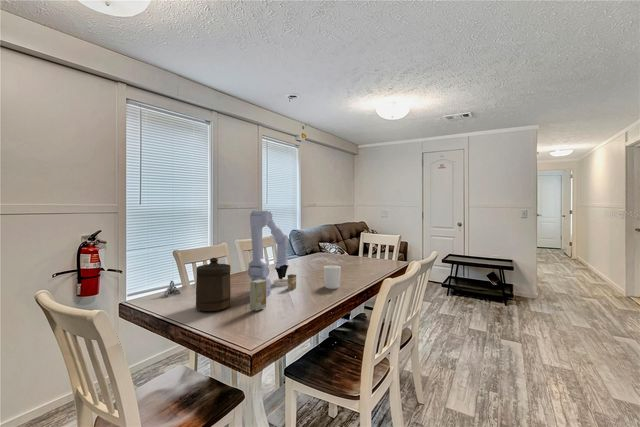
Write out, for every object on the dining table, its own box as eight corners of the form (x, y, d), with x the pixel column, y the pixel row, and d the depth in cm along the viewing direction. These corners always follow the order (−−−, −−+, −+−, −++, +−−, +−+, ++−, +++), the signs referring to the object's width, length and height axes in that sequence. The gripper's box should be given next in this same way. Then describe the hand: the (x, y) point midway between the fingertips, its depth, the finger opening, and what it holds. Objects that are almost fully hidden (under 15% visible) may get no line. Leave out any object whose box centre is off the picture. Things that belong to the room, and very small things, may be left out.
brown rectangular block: (296, 289, 164) (296, 274, 164) (293, 290, 161) (293, 276, 161) (290, 288, 166) (290, 274, 166) (287, 289, 162) (287, 275, 162)
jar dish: (291, 283, 176) (291, 279, 176) (286, 287, 168) (286, 283, 168) (277, 282, 179) (277, 278, 179) (271, 286, 170) (271, 282, 170)
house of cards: (173, 291, 160) (173, 277, 160) (183, 293, 156) (183, 279, 156) (157, 295, 152) (157, 280, 152) (167, 297, 148) (167, 282, 148)
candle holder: (320, 288, 164) (321, 267, 164) (327, 284, 173) (327, 264, 173) (337, 290, 161) (337, 268, 161) (343, 286, 170) (343, 265, 170)
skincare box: (256, 311, 127) (256, 282, 127) (249, 309, 130) (249, 281, 130) (266, 307, 133) (266, 280, 133) (259, 305, 135) (259, 278, 135)
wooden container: (236, 302, 140) (236, 256, 140) (219, 312, 126) (219, 261, 125) (208, 300, 143) (208, 255, 143) (188, 310, 129) (188, 259, 128)
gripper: (280, 253, 181) (280, 275, 181) (270, 256, 167) (270, 280, 167) (290, 253, 179) (290, 275, 179) (282, 257, 165) (282, 281, 165)
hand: (281, 278), depth 173 cm, fingers open, 4 cm apart
